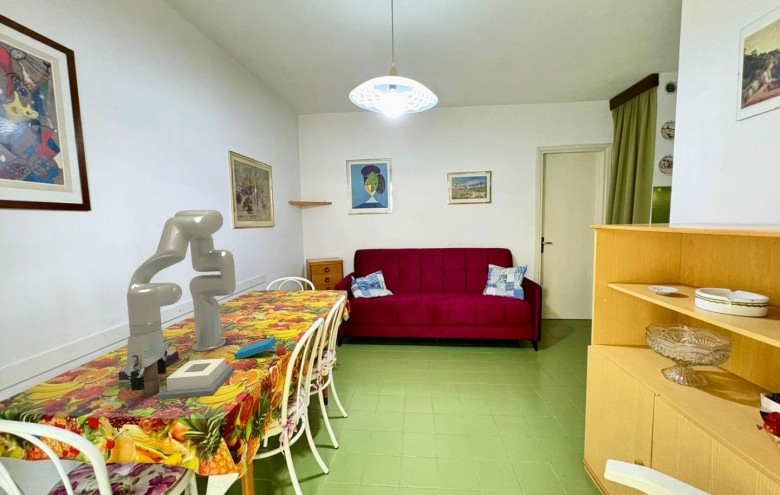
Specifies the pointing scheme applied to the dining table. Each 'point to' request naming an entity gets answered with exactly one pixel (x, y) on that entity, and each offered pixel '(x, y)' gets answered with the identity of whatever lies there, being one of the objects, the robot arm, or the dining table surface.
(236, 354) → the lever
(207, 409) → the dining table surface
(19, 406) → the dining table surface
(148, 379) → the walnut peg
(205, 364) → the socket block
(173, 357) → the black red box
